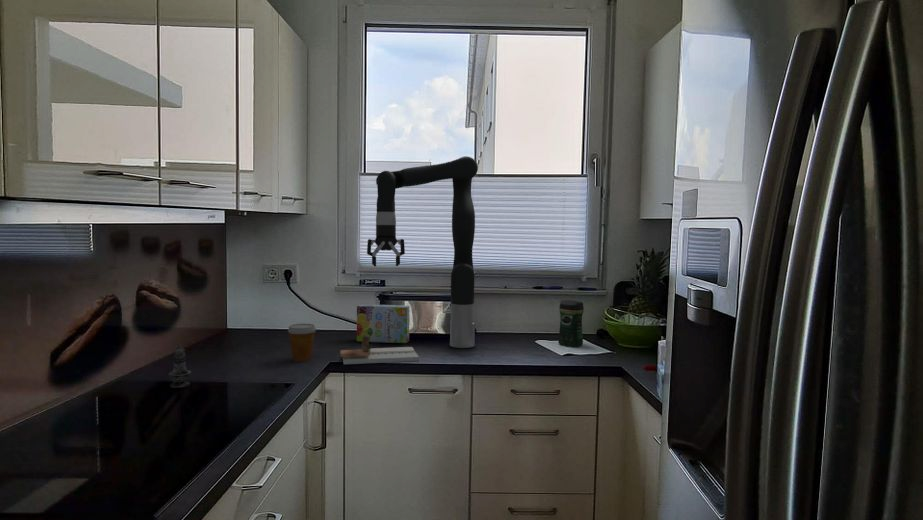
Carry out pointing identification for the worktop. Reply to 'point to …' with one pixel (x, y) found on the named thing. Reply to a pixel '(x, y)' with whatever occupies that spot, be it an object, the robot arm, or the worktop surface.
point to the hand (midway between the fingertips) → (386, 266)
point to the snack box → (383, 323)
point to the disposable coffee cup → (301, 341)
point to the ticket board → (384, 356)
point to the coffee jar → (571, 323)
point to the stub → (361, 352)
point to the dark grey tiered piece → (179, 369)
